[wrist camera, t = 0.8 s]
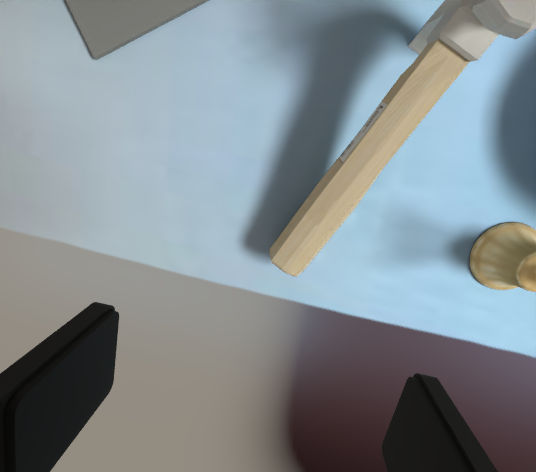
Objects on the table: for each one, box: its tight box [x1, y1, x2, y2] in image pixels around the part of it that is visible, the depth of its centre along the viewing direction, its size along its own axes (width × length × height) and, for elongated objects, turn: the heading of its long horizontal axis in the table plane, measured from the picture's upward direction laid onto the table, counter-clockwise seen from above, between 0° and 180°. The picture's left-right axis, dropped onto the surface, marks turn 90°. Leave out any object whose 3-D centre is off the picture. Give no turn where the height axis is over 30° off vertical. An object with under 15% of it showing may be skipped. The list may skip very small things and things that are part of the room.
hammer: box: [269, 0, 536, 276], centre depth 30 cm, size 16×5×30 cm
